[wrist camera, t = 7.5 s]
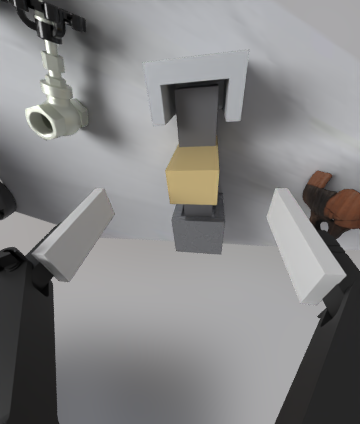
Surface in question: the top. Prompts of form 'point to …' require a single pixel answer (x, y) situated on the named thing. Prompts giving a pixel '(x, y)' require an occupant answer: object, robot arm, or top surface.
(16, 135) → the top surface
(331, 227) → the rusty metal ring bracket
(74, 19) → the valve
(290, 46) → the top surface
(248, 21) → the top surface
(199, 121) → the two-tone stepped block
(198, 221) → the gray block
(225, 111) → the socket
